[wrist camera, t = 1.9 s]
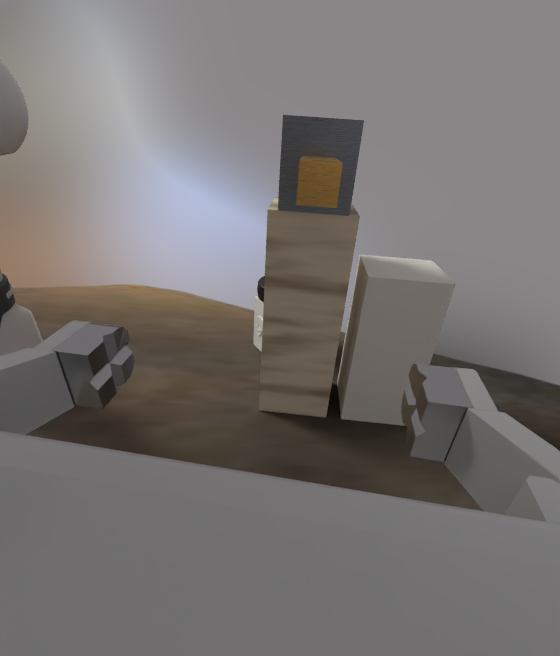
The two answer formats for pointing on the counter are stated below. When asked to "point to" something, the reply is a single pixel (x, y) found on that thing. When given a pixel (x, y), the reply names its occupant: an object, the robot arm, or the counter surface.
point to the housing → (318, 164)
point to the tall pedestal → (303, 307)
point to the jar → (259, 314)
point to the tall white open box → (389, 334)
